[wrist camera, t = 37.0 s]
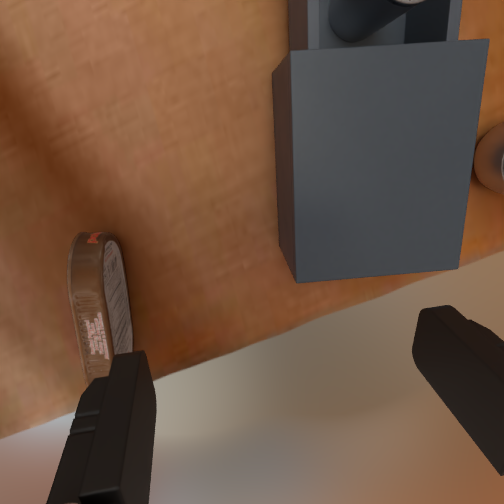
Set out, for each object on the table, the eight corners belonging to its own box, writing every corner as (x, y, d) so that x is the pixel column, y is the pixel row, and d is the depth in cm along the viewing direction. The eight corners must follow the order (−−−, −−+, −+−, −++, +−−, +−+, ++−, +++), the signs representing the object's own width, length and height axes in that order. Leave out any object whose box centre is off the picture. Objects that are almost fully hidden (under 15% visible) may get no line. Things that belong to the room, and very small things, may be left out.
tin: (91, 221, 34) (50, 250, 26) (125, 220, 34) (94, 248, 26) (113, 356, 39) (83, 414, 31) (142, 354, 39) (120, 412, 31)
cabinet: (271, 72, 31) (289, 50, 22) (416, 63, 31) (490, 38, 22) (278, 245, 36) (296, 283, 27) (402, 235, 36) (458, 269, 28)
